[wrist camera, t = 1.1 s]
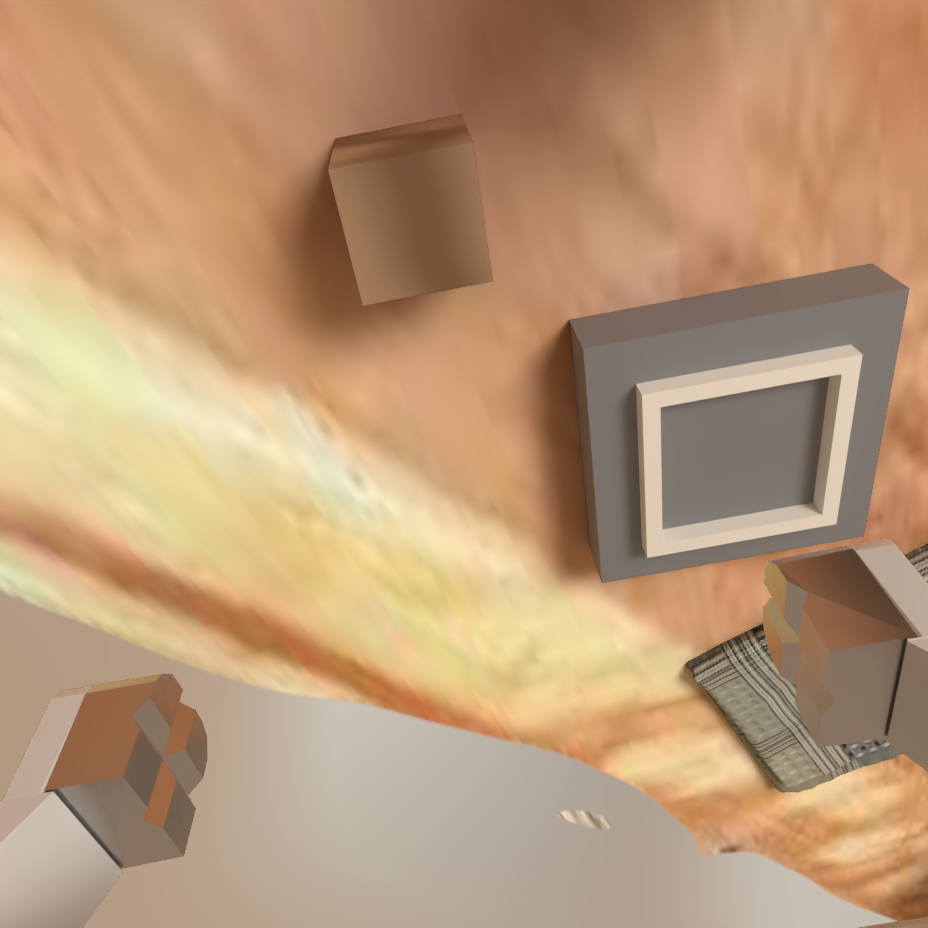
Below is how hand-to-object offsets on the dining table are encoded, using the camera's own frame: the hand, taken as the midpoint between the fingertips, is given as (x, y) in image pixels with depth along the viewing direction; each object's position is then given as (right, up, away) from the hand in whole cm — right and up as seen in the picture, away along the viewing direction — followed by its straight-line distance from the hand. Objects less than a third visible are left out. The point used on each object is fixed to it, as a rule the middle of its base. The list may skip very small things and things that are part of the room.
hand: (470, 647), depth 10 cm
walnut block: (-2, +14, +21) cm, 25 cm away
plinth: (+13, +5, +29) cm, 32 cm away
